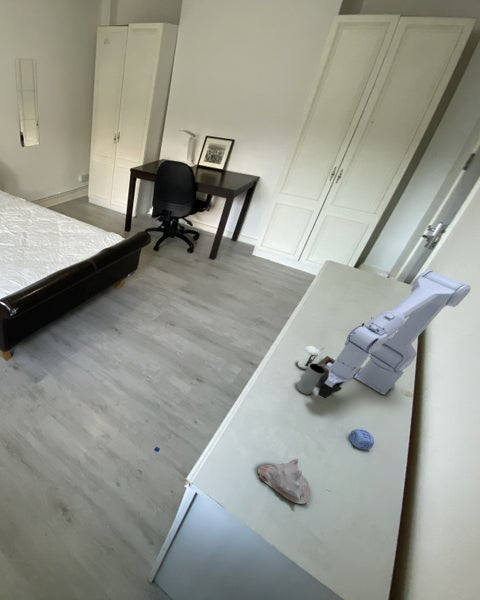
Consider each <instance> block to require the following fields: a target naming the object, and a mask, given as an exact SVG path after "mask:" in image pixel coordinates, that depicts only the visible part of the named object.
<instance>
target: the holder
mask: <svg viewBox="0 0 480 600" xmlns="http://www.w3.org/2000/svg"><path fill="white" fill-rule="evenodd" d="M335 360H336V359H334V358H332V357H331V356H329V355H326V356H325V357H324V358H323V359H321V360H320V361H319V362H318V363H317V364H318V365H320V366H322V367H323V368H324V369H325V374H324V376H326V377H327V378H328V375H329V368H328V367H326V365H327V364H328V363H332V364H333V363H334V362H335ZM316 387H317V388H318V389H320V381H319V382H318V384H317V385H316Z"/></svg>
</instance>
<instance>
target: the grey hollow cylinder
mask: <svg viewBox="0 0 480 600" xmlns="http://www.w3.org/2000/svg"><path fill="white" fill-rule="evenodd" d="M324 374H325V369H324V368H323V367H322V366H320V365H318V363H313V362H312V363H311V364H310V365H309V367H308V368H307V369H305V372H304V373H303V374H302V376H301V377H300V379H299V380H298V382H297V384H296V389H297V390H298V391H299V392H300V393H302V394H304V395H310V394H312V392H313V391H314V389H315V388H316V387H317V386H316V385H317V384H318V382H319V381H320V378H321V377H322V376H323V375H324Z"/></svg>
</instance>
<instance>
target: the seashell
mask: <svg viewBox="0 0 480 600" xmlns="http://www.w3.org/2000/svg"><path fill="white" fill-rule="evenodd" d="M257 474H258V477H259V479H261V480H262V481H263V482H264V483H265V484H266V485H268V486H269V487H271V488H272V489H273V490H275V491H276V492H277V493H279V494H280V495H281V496H282V497H284V498H285V499H287V500H288V501H290V502H293V503H296V504H299V505H305V504H307V503H308V501H309V499H310V486H309V482H308V480H307V479H306V477H305V476H304V475H303V471H302V470H301V469H300V468H299V458H296V457H295V458H293V459H292V460H290V461H288V463H287V462H286V463H285V462H281V464H277V463H274V465H273V464H265V465H262V466H259V468H258V469H257Z"/></svg>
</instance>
